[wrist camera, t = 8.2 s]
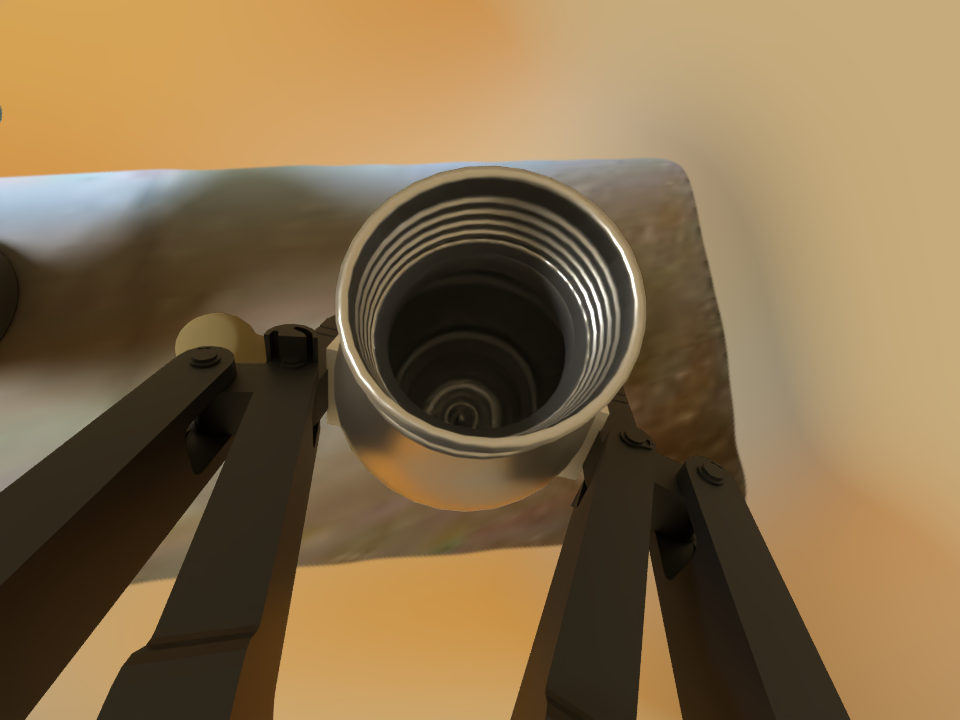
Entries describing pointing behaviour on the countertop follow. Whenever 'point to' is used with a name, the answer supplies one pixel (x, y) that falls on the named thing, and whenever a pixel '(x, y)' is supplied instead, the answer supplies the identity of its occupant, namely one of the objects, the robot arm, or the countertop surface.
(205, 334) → the cork
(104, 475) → the robot arm
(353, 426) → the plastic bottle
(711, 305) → the countertop surface
